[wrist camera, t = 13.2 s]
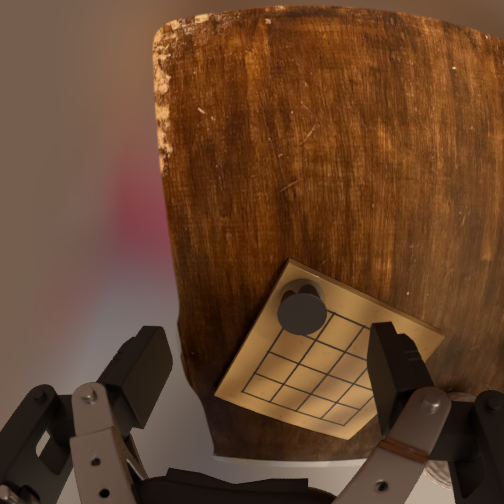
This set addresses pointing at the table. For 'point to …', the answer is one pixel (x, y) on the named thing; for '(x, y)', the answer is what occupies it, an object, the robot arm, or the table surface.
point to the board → (316, 359)
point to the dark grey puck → (302, 307)
